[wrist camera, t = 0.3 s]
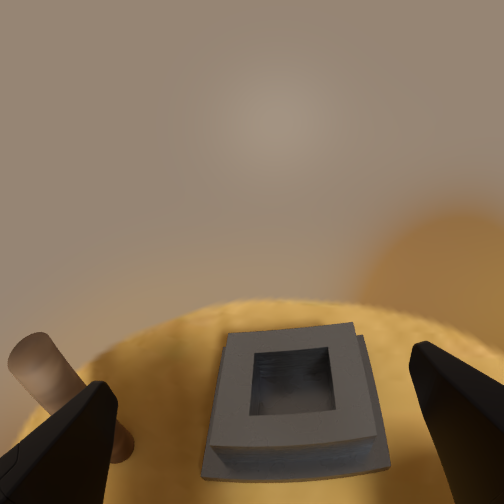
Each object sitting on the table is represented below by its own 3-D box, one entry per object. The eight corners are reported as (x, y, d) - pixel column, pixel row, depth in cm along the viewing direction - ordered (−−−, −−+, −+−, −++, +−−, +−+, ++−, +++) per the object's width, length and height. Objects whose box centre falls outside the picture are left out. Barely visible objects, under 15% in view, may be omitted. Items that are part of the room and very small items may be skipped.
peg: (128, 467, 19) (32, 379, 13) (93, 458, 20) (-1, 369, 13) (138, 431, 23) (59, 333, 16) (104, 425, 23) (25, 330, 17)
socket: (388, 469, 16) (402, 449, 14) (204, 480, 18) (184, 462, 16) (362, 341, 28) (365, 308, 26) (225, 353, 30) (214, 322, 28)
